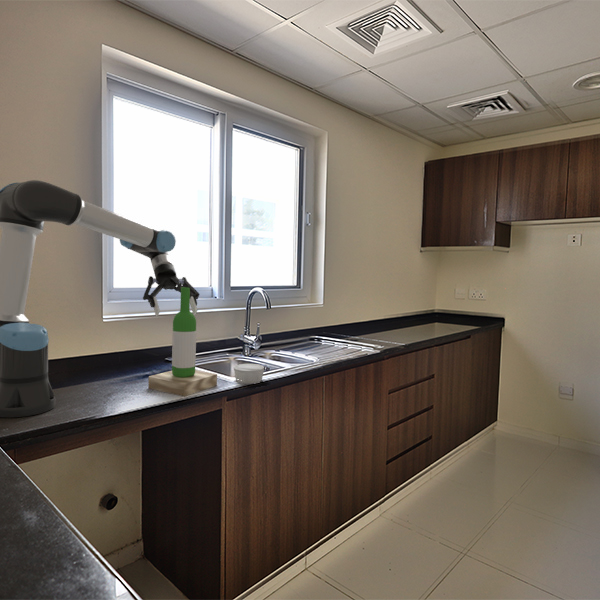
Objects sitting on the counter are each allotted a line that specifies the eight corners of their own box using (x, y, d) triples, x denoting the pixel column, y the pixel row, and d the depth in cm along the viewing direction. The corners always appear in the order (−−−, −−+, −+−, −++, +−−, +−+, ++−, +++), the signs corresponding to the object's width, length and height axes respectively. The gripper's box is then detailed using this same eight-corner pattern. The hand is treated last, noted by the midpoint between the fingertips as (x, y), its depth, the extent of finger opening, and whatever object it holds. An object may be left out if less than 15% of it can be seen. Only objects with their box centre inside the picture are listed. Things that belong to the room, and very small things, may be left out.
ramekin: (237, 386, 152) (237, 371, 152) (230, 378, 163) (230, 364, 162) (267, 383, 157) (268, 369, 156) (259, 376, 167) (259, 362, 167)
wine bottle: (186, 371, 154) (188, 286, 152) (199, 375, 149) (202, 288, 147) (167, 375, 148) (168, 287, 146) (180, 379, 143) (182, 288, 141)
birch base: (183, 396, 138) (184, 384, 137) (148, 388, 145) (148, 376, 145) (216, 385, 152) (217, 374, 151) (182, 378, 159) (183, 367, 159)
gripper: (192, 276, 174) (207, 318, 163) (127, 275, 160) (138, 321, 149) (198, 263, 169) (213, 305, 158) (131, 261, 155) (143, 307, 144)
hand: (177, 313), depth 153 cm, fingers open, 13 cm apart
